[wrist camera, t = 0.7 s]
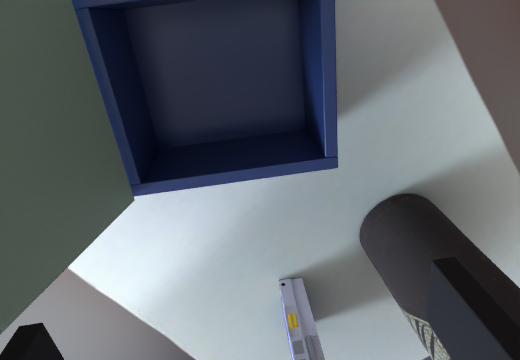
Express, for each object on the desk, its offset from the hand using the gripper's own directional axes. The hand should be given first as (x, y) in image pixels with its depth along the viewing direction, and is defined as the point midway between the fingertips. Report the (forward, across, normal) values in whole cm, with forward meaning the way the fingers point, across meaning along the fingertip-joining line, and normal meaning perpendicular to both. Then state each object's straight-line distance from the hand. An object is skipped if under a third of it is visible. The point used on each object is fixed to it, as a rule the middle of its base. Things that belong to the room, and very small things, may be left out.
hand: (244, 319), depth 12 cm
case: (+21, 0, +5) cm, 22 cm away
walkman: (+21, +3, -22) cm, 31 cm away
